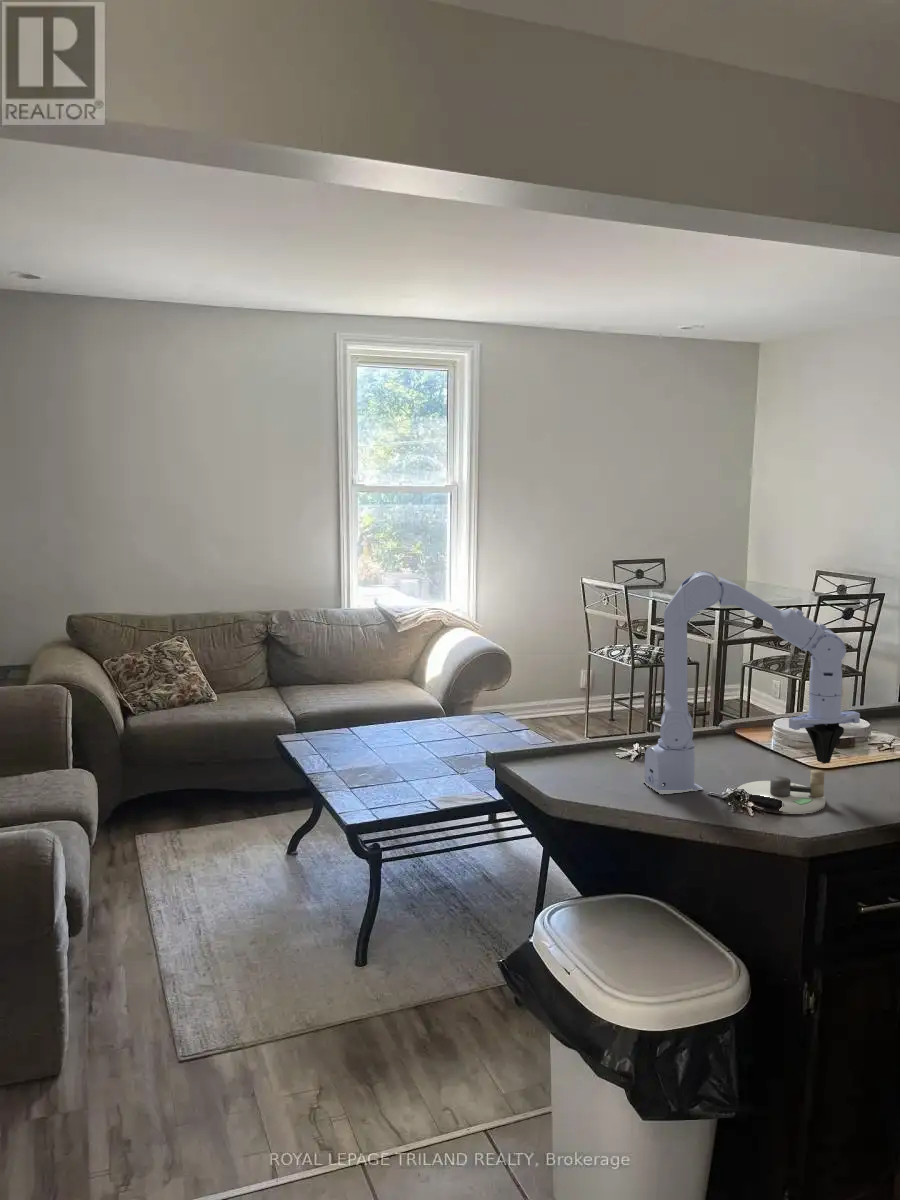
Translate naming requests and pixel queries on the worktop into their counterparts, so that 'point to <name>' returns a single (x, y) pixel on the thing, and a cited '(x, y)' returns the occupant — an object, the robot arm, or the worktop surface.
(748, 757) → the worktop surface
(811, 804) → the dial plate
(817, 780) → the crank handle
